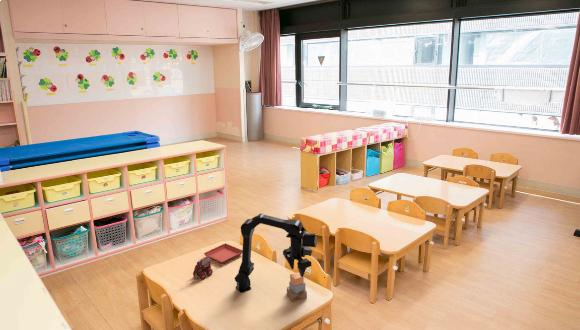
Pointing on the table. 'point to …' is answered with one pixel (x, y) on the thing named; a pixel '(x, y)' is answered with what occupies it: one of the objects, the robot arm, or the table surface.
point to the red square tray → (223, 253)
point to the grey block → (297, 287)
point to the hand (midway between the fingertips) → (297, 272)
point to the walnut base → (296, 296)
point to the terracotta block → (296, 279)
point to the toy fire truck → (203, 268)
